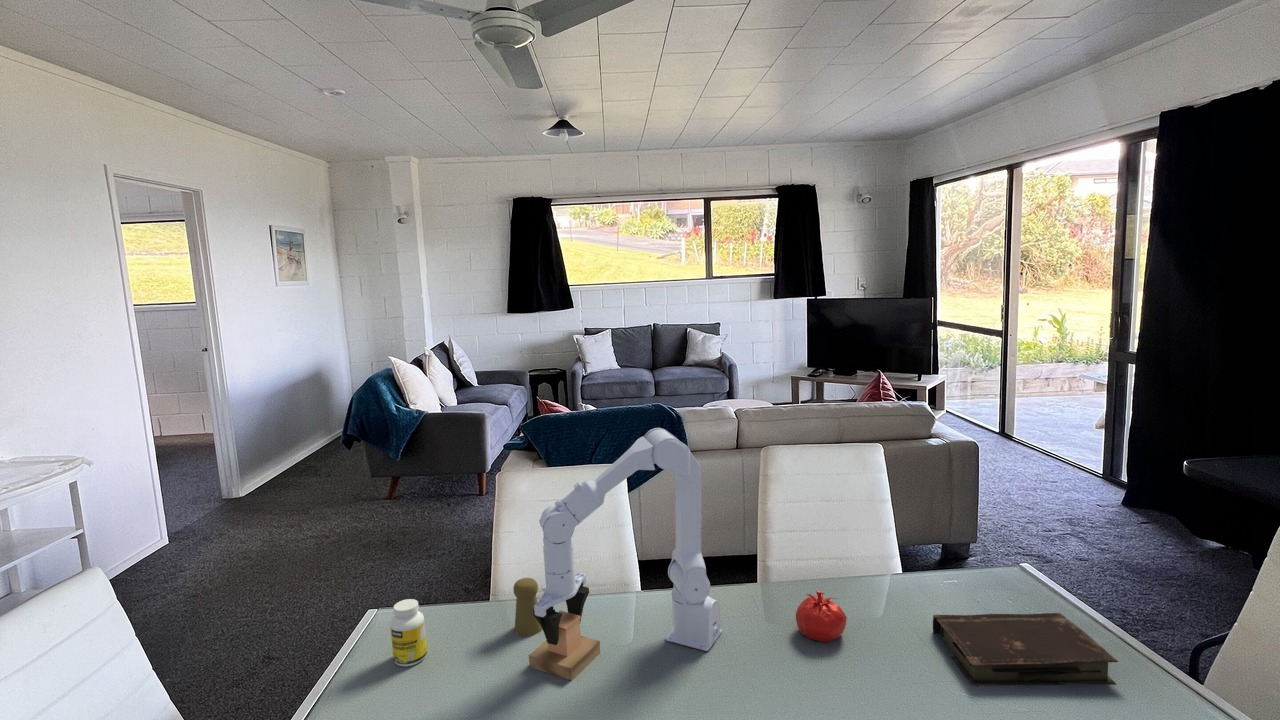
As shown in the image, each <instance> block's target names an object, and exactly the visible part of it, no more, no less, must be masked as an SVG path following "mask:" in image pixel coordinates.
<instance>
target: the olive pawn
mask: <svg viewBox="0 0 1280 720" xmlns="http://www.w3.org/2000/svg"><path fill="white" fill-rule="evenodd" d="M512 589H513V595H514V596H515V597H516V600H515V618H514V633H515V634H516V635H518V636H520V637H531V636H534V635H537V634H539V633H540V632H541V631H543V629H542V627H541V625H540V624H539V622H538V621H537V619H536V618H535V617H534V616H533V610H534V605H536V604H537V603H538V599H537V593H538V591H539V586H538V582H537V580H535V578H533V577H523V578H520V579H518V580H516V582H515V583H514V585H513V588H512Z"/></svg>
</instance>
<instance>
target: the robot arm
mask: <svg viewBox="0 0 1280 720" xmlns="http://www.w3.org/2000/svg"><path fill="white" fill-rule="evenodd" d="M655 464H656V465H657V466H658V467H659V468H660V469H662V470H664V471H667V472H670V473H672V474H673V475H674V476H675V548H674V549H673V551H672V553H671V561H670V563H669V565H668V567H667V576H668V578H669V580H670V581H671V582H672V583H673V588H672V591H671V607H672V609H671V611H672V629H671V631H670V632H669V634H667V636H666V637H665V640H666V642H670V643H674V644H679V645H683V646H686V647H690V648H693V649H698V650H701V651H705V652H708V651H709V650H710V649H711V647H712V646H714V645H713V644H714V643H715V642H716V641H717V640H718V638H719V637H720V635H721V634H722V633H723V629H721V607H720V603H719V600H716V599H715V598H713V597H711V596H709V595H710V591H711V582H710V580H709V578H708V576H707V568H706V564H705V560H704V558H703V554H702V467H701V465H700V463H699V462H698V461H697V459H696V458H695V456H694V455H693V453H692V452H691V450H690V447H689V446H688V445H686V444H685V443H684V442H682V441H680V440H679V439H678V438H677V437H676V435H674V434H672V433H671V432H669V431H668V430H667V429H664V428H662V427H654V428H652V429H649V430H648V431H647V432H646V433H645V434H644V435H643V436H641V437H639V438H637V440H635V442H634V443H633V444H632V445H631V446H630V447H629V448H628V449H627V450H626V451H625V452H623V454H621V456H620V457H618V459H616V460H615V461H614V462H613V463H612V464H611V465H610V466H608V468H606V469H605V470H604V471H603V472H602V473H601V474H600V475H599V476H598V477H597V478H596V479H593V480H583V482H582V483H580V481H579V482H576V483H575V484H574V485H573V488H574V489H573V490H572V491H571V492H569V493H568V494H567V495H566V496H564V497H563V498H562V499H561V500H560V499H558V500H556V501H555V502H554V505H550V506H548V507H546V508H545V509H543V511H542V513H541V515H540V517H539V521H538V522H539V524H540V527H541V529H542V532H543V538H542V541H543V542H542V543H543V546H542V547H543V548H542V549H543V565H544V573H545V574H544V578H545V579H544V580H545V585H543V586H542V592H543V593H542V595H541V597H540V598H539V599H538V600H537V602H538V603H537V604H536V605H534V610H533V616H534V617H535V618H536V619H537V621H538V622H539V624H540V625H541V627H542V632H543V634H544V637H545V639H546V640H547V643H549V644H553V645H557V644H558V640H559V623H560V619H561V616H562V613H559V611H556V609H555V608H554V607H555V605H559V604H561V603H563V602H565V603H566V608H567V612H568V613H571V614H575V615H579V616H581V619H580V623H581V621H582V617H583V616H582V615H583V612H584V606H585V603H586V602H587V601H586V600H587V597H588V596H589V594H590V588H589V587H587V586H584V585H585V584H587V574H585V573H581V572H577V573H575V572H576V571H575V570H576V569H575V557H574V545H573V542H572V537H573V536H574V533H575V530H576V529H575V528H576V527H577V526H579V525H580V524H581V523H582V522H583V521H584V520H586V519H587V518H588V517H589V516H590V515H591V514H593V513H594V512H595V511H596V510H597V509H599V508H600V507H601V506H603V505H604V502H605V497H606V494H608V493H609V492H610V491H612V490H614V489H615V487H617V486H618V485H620V484H621V483H622V482H623V481H625V480H626V479H628V477H630V476H632V475H633V474H635V472H637V471H655V470H656V468H655ZM546 640H545V641H546Z"/></svg>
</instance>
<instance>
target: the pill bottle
mask: <svg viewBox="0 0 1280 720" xmlns="http://www.w3.org/2000/svg"><path fill="white" fill-rule="evenodd" d="M419 608H420V607H419V601H418V600H416V599H414V598H407V599H403V600H399V601H398V602H396V603H395V604H394V605H393V615H394V616H393V617H392V619H391V620H390V623H389V624H390V627H389V628H390V636H391V638H390V639H391V649H392V657H393V662H394V663H395V664H396V665H397V666H399V667H410V666H412V667H413V666H415V665H417V664H419V663H421V662H422V661H423V660H424V659H425V658H426V657H427V654H428V648H427V647H428V645H427V635H426V623H425V616H424V614H423V613H422V612H421V611H420V610H419Z"/></svg>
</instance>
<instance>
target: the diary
mask: <svg viewBox="0 0 1280 720" xmlns="http://www.w3.org/2000/svg"><path fill="white" fill-rule="evenodd" d="M932 632H933V633H932V634H940V635H941V636H940V638H941V639H943V641H944V643H945V644H946V645H947V647H948V648H949V650H950V651H951V653H953V654H952V655H954V656H951V660H953V662H954V663H955V665H956V666H957V668H958V669H959V671H960V672H961V674H962V675H963V676H964V678H965V680H967V681H968V683H970V684H971V685H974V686H986V687H987V686H988V687H990V686H993V687H995V686H996V687H997V686H998V687H999V686H1002V687H1003V686H1004V687H1005V686H1013V687H1014V686H1038V685H1039V686H1040V685H1044V686H1068V684H1083V685H1114V686H1115V685H1117V683H1116V682H1115V681H1114V679H1112V678H1111V677H1110V676H1109V675H1108V674H1109V663H1118V662H1119V661H1118V660H1117V659H1116V658H1115V656H1113V655H1112V654H1111V653H1109V652H1108V651H1107V650H1106V649H1105V648H1104V647H1102V646H1101V644H1099V643H1098V642H1097V641H1096V640H1095V639H1093V638H1092V637H1091V636H1090V635H1089V634H1088V633H1087V632H1085V631H1084V630H1082V629H1081V628H1080V627H1078V626H1077V625H1076V624H1075V623H1074V622H1073V621H1071V620H1070V619H1069V618H1067V617H1066V616H1065V615H1063V614H1062V613H1061V612H1045V613H1026V614H1025V613H1023V614H1022V613H1020V614H1019V613H984V614H966V615H965V614H933V616H932Z"/></svg>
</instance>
